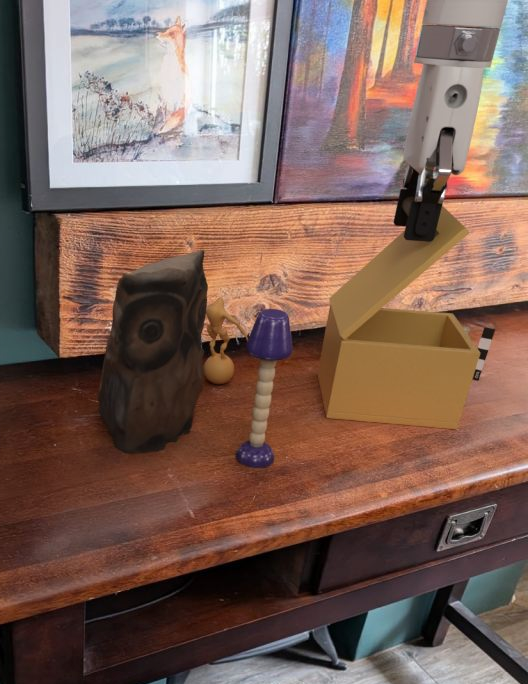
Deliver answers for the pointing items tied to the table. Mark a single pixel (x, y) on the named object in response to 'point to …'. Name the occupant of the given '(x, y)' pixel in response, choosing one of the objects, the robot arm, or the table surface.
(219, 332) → the figurine
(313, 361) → the table surface
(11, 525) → the table surface
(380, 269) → the lid
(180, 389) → the owl
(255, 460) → the toy lamp
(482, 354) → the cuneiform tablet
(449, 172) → the robot arm
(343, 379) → the chest
